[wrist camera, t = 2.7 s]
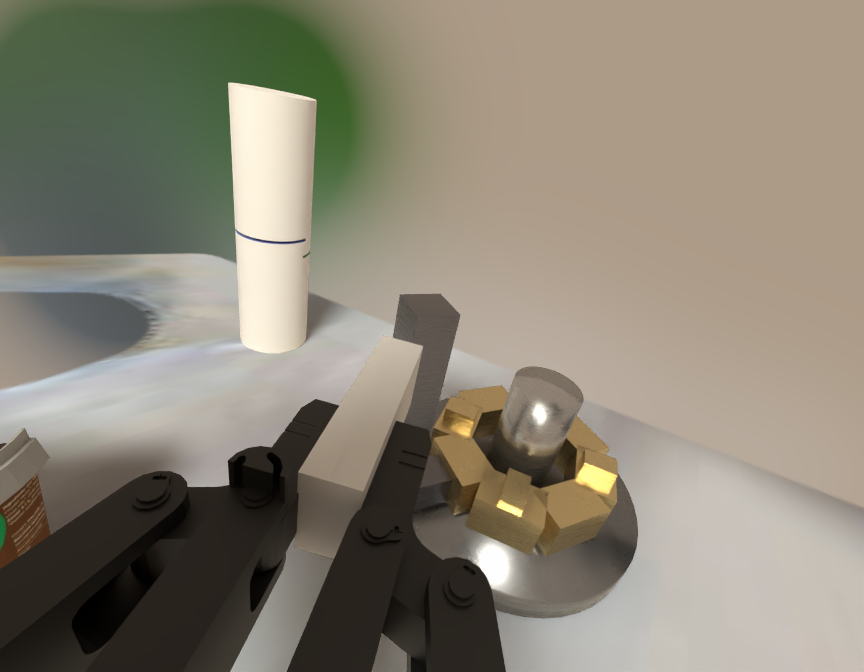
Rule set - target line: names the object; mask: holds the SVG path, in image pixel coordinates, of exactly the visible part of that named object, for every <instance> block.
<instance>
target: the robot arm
mask: <svg viewBox="0 0 864 672" xmlns="http://www.w3.org/2000/svg"><path fill="white" fill-rule="evenodd" d="M422 350H423V346H421V345H417V344H414V343H410V342H406V341H402V340H399V339H395V338H391V337H388V336H384V335H383V336H382V338H381V339H380V341H379V343H378V344H377V346H376V347H375V349H374V351H373V352H372V354H371V355H370V357H369V359H368V360H367V362H366V363H365V365H364V367H363V368H362V370H361V372H360V373H359V375H358V376H357V378H356V380H355V381H354V383H353V384H352V386H351V388H350V389H349V391H348V392H347V394H346V396H345V397H344V399H343V401H342V402H341V404H340V405H335V404H331V403H328V402H324V401H321V400H317V399H315V400H313V401H312V402H310V403H309V404H307V405H305V406H304V407H302V408H301V409H300V410H299V412H298V413H297V414H296V416H295V417H294V418H293V420H292V422H291V423H290V424H289V425H288V427H287V428H286V429H285V432H283V433H282V435H281V436H280V437H279V439H278V440H277V441H276V443H275V444H274V445H273V447H272V448H271V447H263V446H259V447H252V448H247V449H245V450H243V451H240V452H238V453H236V454H235V455H234V456H233V457H232V458H230V459H229V460H228V469H229V484H230V485H227V486H221V487H187V481H186V480H185V479H184V478H183V477H182V476H181V475H179V474H176V473H173V472H170V471H157V472H153V473H149V474H145V475H142V476H140V477H138V478H136V479H135V480H133V481H131V482H129V483H128V484H126V485H125V486H123V487H122V488H120V489H119V490H117V491H116V492H114V493H113V494H111V495H110V496H108V497H107V498H105V499H104V500H102V501H101V502H99V503H98V504H96V505H95V506H93V507H92V508H90V509H89V510H87V511H86V512H84V513H83V514H82V515H80V516H79V517H77V518H76V519H74V520H73V521H71V522H70V523H68V524H67V525H65V526H64V527H62V528H61V529H59V530H58V531H56V532H55V533H53V534H52V535H50V536H49V537H47V538H46V539H44V540H43V541H41V542H40V543H38V544H37V545H35V546H34V547H32V548H31V549H29V550H28V551H26V552H25V553H23V554H22V555H20V556H19V557H18V558H16V559H15V560H13V561H12V562H10V563H9V564H7V565H6V566H4V567H3V568H1V569H0V672H230V670H231V669H232V667H233V665H234V663H235V661H236V659H237V657H238V655H239V653H240V651H241V649H242V647H243V645H244V643H245V641H246V640H247V638H248V636H249V634H250V632H251V630H252V628H253V626H254V624H255V622H256V620H257V618H258V616H259V614H260V612H261V611H262V609H263V607H264V605H265V603H266V601H267V599H268V597H269V595H270V593H271V591H272V589H273V587H274V585H275V583H276V582H277V580H278V578H279V576H280V574H281V572H282V570H283V567H284V563H285V559H286V551H287V549H288V547H289V545H290V543H291V542H292V540H293V538H294V536H295V541H294V547H296V548H299V549H302V550H305V551H309V552H312V553H315V554H318V555H322V556H325V557H328V558H331V559H334V560H333V563H332V565H331V567H330V570H329V572H328V575H327V577H326V579H325V582H324V584H323V586H322V589H321V591H320V594H319V596H318V598H317V601H316V603H315V606H314V608H313V610H312V613H311V615H310V617H309V620H308V622H307V625H306V627H305V629H304V632H303V634H302V637H301V639H300V641H299V644H298V646H297V648H296V651H295V653H294V656H293V658H292V660H291V663H290V665H289V668H288V670H287V672H371V671H372V667H373V664H374V660H375V656H376V652H377V649H378V645H379V641H380V637H381V634H382V633H383V634H384V635H385V636H387V637H388V638H389V639H390V640H392V641H393V642H394V643H395V644H396V645H398V646H399V647H400V648H401V649H403V650H404V651H405V652H406V653H407V672H506V670H505V664H504V658H503V653H502V647H501V641H500V635H499V629H498V623H497V617H496V612H495V606H494V600H493V594H492V589H491V586H490V583H489V581H488V578H487V576H486V575H485V574H484V572H483V571H482V570H481V569H480V567H479V566H477V565H476V564H474V563H473V562H471V561H470V560H467V559H463V558H460V557H453V558H446V559H444V560H442V559H441V558H439V557H438V556H437V555H435V554H434V553H432V552H431V551H429V550H428V549H427V548H426V547H425V546H424V545H422V543H421V542H420V540H419V539H418V538H417V536H416V534H415V531H414V528H413V522H412V520H413V513H414V509H415V505H416V501H417V498H418V494H419V490H420V486H421V482H422V479H423V475H424V471H425V467H426V463H427V460H428V456H429V452H430V448H431V444H432V443H431V439H430V435H429V431H428V429H424V428H421V427H417V426H413V425H410V424H406V423H404V421H405V418H406V416H407V413H408V410H409V407H410V405H411V400H412V395H413V391H414V386H415V382H416V377H417V373H418V368H419V364H420V359H421V354H422Z"/></svg>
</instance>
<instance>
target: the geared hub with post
mask: <svg viewBox="0 0 864 672" xmlns="http://www.w3.org/2000/svg"><path fill="white" fill-rule="evenodd" d="M459 318H460V314H459V313H458V312H457V311H456V310H455V309H454V308H453V307H452V306H451V305H450V303H449V302H448V301H447V300H446V299H445V298H444V297H443V296H442V295H441V294H404V295H400V298H399V304H398V310H397V316H396V322H395V328H394V334H393V338H395V339H399V340H402V341H406V342H410V343H414V344H417V345H421V346H423V350H422V354H421V359H420V364H419V368H418V373H417V377H416V382H415V386H414V391H413V395H412V400H411V405H410V407H409V410H408V413H407V416H406V418H405V421H404V423H406V424H410V425H413V426H417V427H421V428H424V429H428V431H429V435H430V434H431V430H432V426H433V422H434V418H435V414H436V410H437V406H438V402H439V398H440V394H441V390H442V386H443V382H444V378H445V374H446V370H447V366H448V362H449V358H450V354H451V350H452V346H453V342H454V339H455V334H456V330H457V327H458V323H459ZM508 394H509V393H508V392H507V391H506V390H505V389H504V388H503V386H502V385H501V386H494V387H487V388H480V389H473V390H465V391H459V394H458V398H456V397H453V396H451V397H450V399H449V401H448V403H447V404H446V406H445V408H444V410H443V412H442V413H441V415H440V417H439V419H438V420H437V422H436V424H435V426H434V427H433V431H432V435H431V443H432V444H431V448H430V452H429V456H428V460H427V463H426V467H425V471H424V475H423V479H422V482H421V486H420V490H419V494H418V498H417V501H416V505H415V509H414V511H416V510H420V509H423V508H427V507H431V506H434V505H438V504H441V503H445V502H446V503H447V505H448V507H449V509H450V510H451V512H452V514H453V515H455V514H458V513H462V512H465V511H469V510H470V513H469V516H468V519H467V521H466V524H465V526H466V527H468V528H470V529H472V530H475V531H477V532H479V533H481V534H483V535H486V536H488V537H490V538H492V539H495V540H497V541H499V542H501V543H503V544H506V545H508V546H510V547H512V548H514V549H517V550H519V551H521V552H523V553H525V554H528V555H530V554H531V552H532V550H533V548H534V546H535V544H536V543H537V545H538V546H539V548H540V549H541V551H542V552H543V554H544V555H545V557H546V556H548V555H551V554H554V553H556V552H559V551H561V550H564V549H566V548H569V547H572V546H574V545H577V544H579V543H582V542H584V541H587V540H590V539H592V538H595V536H596V535H597V533H598V531H599V530H600V529H601V527H602V526H603V524H604V522H605V521H606V519H607V518H608V516H609V514H610V513H611V511H612V510H613V508H614V506H615V505H616V503H617V488H616V478H617V476H618V469H617V461H616V460H615V458H612V457H610V456H607V455H606V453H607V452H608V450H609V447H608V446H607V445H606V444H605V443H604V442H603V441H602V440H601V439H600V438H598V437H597V436H596V435H595V434H594V433H593V432H592V431H591V430H590V429H589V428H588V427H587V426H586V425H585V424H584V423H583V422H582V421H581V420H580V419H579V418H578V417H577V416H576V418H575V420H574V422H573V424H572V426H571V428H570V430H569V433H568V435H567V437H566V439H565V441H564V443H563V445H562V447H561V449H560V451H559V454H558V456H557V458H556V460H555V462H554V463H555V465H556V466H557V467H558V468H559V469H560V471H561V472H562V473H563V474H564V482H561V483H558V484H554V485H551V486H548V487H544V488H541V489H539V488H537V487H535V486H532V485H530V483H531V478H532V477H530V476H528V475H526V474H523V473H521V472H518V471H516V470H513V469H511V468H509V469H508V472H507V474H503V473H501V472H498V471H496V470H494V468H493V467H492V465H491V464H490V463H489V461H488V460H487V458H486V457H485V455H484V454H483V452H482V451H481V449H480V448H479V446H478V445H477V444H476V442H475V441H474V439H475V438H480V437H484V436H489V435H494V433H495V430H496V428H497V425H498V422H499V419H500V416H501V414H502V411H503V408H504V405H505V402H506V400H507V397H508Z"/></svg>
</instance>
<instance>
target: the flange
mask: <svg viewBox="0 0 864 672" xmlns="http://www.w3.org/2000/svg"><path fill="white" fill-rule="evenodd" d="M456 398H458V397H456ZM449 399H450V398H449ZM449 399H444V400H441V401H439V402H438V406H437V410H436V414H435V418H434V422H433V426H432V430H431V434H430V439H431V435H432V431H433V427H434V426H435V424H436V422H437V420H438V419H439V417H440V415H441V413H442V412H443V410H444V408H445V406H446V404H447V403H448V401H449ZM582 403H583V394H582V392H581V390H580V389H579V387H578V386H577V385H576V384H575V383H574V382H573V381H571V380H570V379H568V378H567V377H565V376H564V375H562V374H560V373H558V372H555V371H553V370H550V369H546V368H542V367H525V368H522V369H520V370H519V371H517V373H516V374H515V377H514V380H513V383H512V385H511V388H510V391H509V394H508V397H507V400H506V402H505V405H504V408H503V411H502V414H501V416H500V419H499V422H498V425H497V428H496V430H495V433H494V435H489V436H484V437H480V438H475V439H474V441H475V442H476V444H477V445H478V446H479V448H480V449H481V451H482V452H483V454H484V455H485V457H486V458H487V460H488V461H489V463H490V464H491V465H492V467H493V468H494V470H496V471H498V472H501V473H503V474H507V472H508V469H509V468H511V469H513V470H516V471H518V472H521V473H523V474H526V475H528V476H530V477H532V478H531V483H530V485H532V486H535V487H537V488H539V489H541V488H544V487H548V486H551V485H554V484H558V483H561V482H564V474H563V473H562V472H561V471H560V469H559V468H558V467H557V466H556V465H555V463H554V462H555V460H556V458H557V456H558V454H559V451H560V449H561V447H562V445H563V443H564V441H565V439H566V437H567V435H568V433H569V430H570V428H571V426H572V424H573V422H574V420H575V418H576V416H577V414H578V412H579V409H580V407H581V405H582ZM616 488H617V503H616V505H615V506H614V508H613V510H612V511H611V513H610V514H609V516H608V518H607V519H606V521H605V522H604V524H603V526H602V527H601V529H600V530H599V531H598V533H597V535H596V536H595V538H592V539H590V540H587V541H584V542H582V543H579V544H577V545H574V546H572V547H569V548H566V549H564V550H561V551H559V552H556V553H554V554H551V555H548V556H546V557H545V555H544V554H543V552H542V551H541V549H540V548H539V546H538V545H537V543H536V544H535V546H534V548H533V550H532V552H531V554H530V555H528V554H525V553H523V552H521V551H519V550H517V549H514V548H512V547H510V546H508V545H506V544H503V543H501V542H499V541H497V540H495V539H492V538H490V537H488V536H486V535H483V534H481V533H479V532H477V531H475V530H472V529H470V528H468V527H466V526H465V524H466V521H467V519H468V516H469V513H470V510H469V511H465V512H462V513H458V514H455V515H453V514H452V512H451V510H450V509H449V507H448V505H447V503H446V502H445V503H441V504H438V505H434V506H431V507H427V508H423V509H420V510H416V511H414V513H413V520H412V522H413V528H414V531H415V534H416V536H417V538H418V539H419V540H420V542H421V543H422V545H424V546H425V547H426V548H427V549H428V550H429V551H431V552H432V553H434V554H435V555H437V556H438V557H439V558H441V559H442V560H444V559H446V558H453V557H460V558H463V559H467V560H470V561H471V562H473V563H474V564H476V565H477V566H479V567H480V569H481V570H482V571H483V572H484V574H485V575H486V576H487V578H488V581H489V583H490V586H491V589H492V594H493V600H494V606H495V609H496V610H499V611H502V612H505V613H510V614H514V615H518V616H523V617H534V618H555V617H564V616H568V615H572V614H576V613H579V612H581V611H584V610H586V609H588V608H590V607H592V606H594V605H595V604H597V603H598V602H599V601H601V600H602V599H604V598H605V597H606V596H607V595H608V593H609V592H610V591H611V590H612V589H613V588H614V587H615V585H616V584H617V583H618V581H619V580H620V579H621V577H622V576H623V574H624V573H625V572H626V570H627V568H628V567H629V565H630V563H631V561H632V559H633V556H634V553H635V550H636V547H637V538H638V527H637V518H636V513H635V509H634V505H633V503H632V500H631V497H630V495H629V492H628V490H627V488H626V486H625V485H624V483H623V481H622V479H621V478H620V476H619V475H618V476H617V478H616Z"/></svg>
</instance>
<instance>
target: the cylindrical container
mask: <svg viewBox="0 0 864 672" xmlns="http://www.w3.org/2000/svg"><path fill="white" fill-rule="evenodd" d="M228 87H229V108H230V128H231V148H232V169H233V188H234V189H233V190H234V211H235V228H236V229H235V231H236V251H237V273H238V294H239V315H240V337H241V341H242V343H243V344H244V345H245V346H247V347H248V348H250V349H252V350H255V351H258V352H263V353H283V352H288V351H292V350H294V349H297V348H298V347H300V346H301V345H302V344H304V342H305V340H306V329H307V305H308V281H309V279H308V278H309V258H310V235H311V212H312V191H313V168H314V145H315V123H316V100H315V99H312V98H309V97H305V96H301V95H296V94H292V93H287V92H282V91H278V90H273V89H267V88H262V87H257V86H251V85H245V84H238V83H228Z"/></svg>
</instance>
